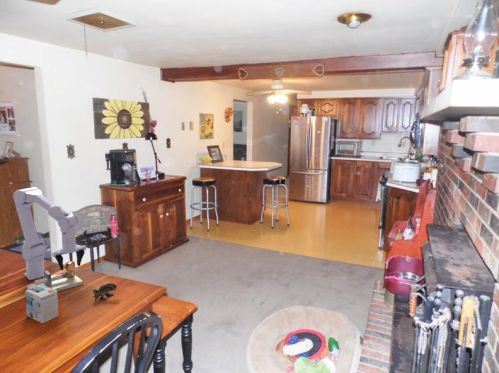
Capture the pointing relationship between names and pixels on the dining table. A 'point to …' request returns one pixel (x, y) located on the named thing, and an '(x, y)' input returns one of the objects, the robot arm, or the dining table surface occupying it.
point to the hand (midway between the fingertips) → (70, 267)
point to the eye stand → (58, 282)
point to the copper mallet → (69, 274)
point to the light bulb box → (41, 303)
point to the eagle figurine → (104, 290)
